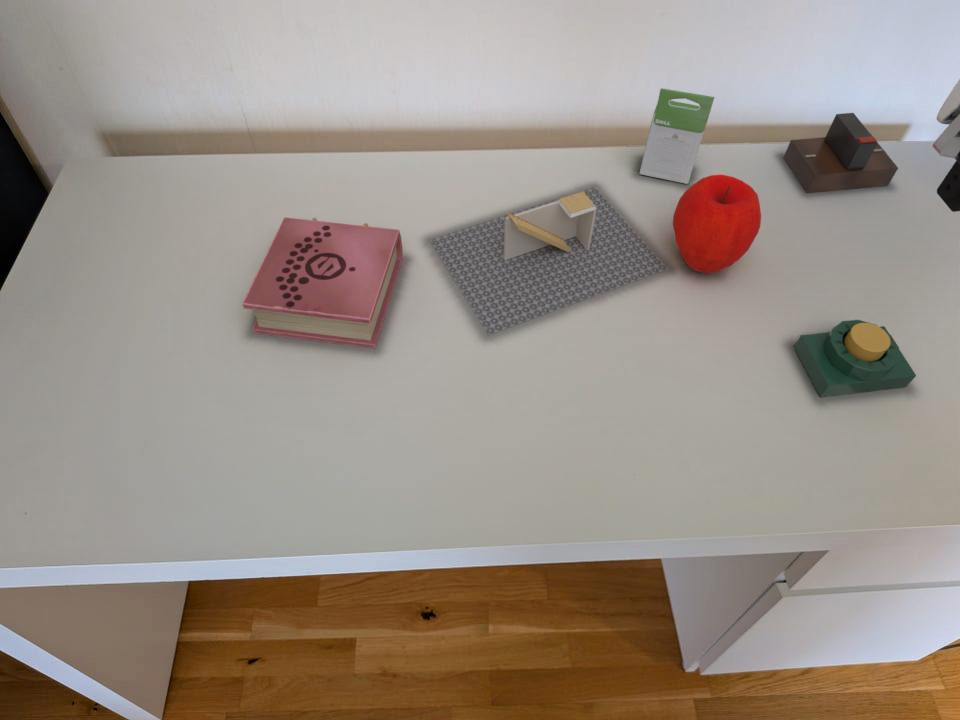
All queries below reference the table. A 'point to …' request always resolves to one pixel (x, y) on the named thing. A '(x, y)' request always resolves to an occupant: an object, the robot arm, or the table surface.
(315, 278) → the book
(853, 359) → the box
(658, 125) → the ink box
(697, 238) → the apple
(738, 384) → the table surface
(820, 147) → the plate
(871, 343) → the button
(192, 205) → the table surface
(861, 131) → the lock knob
